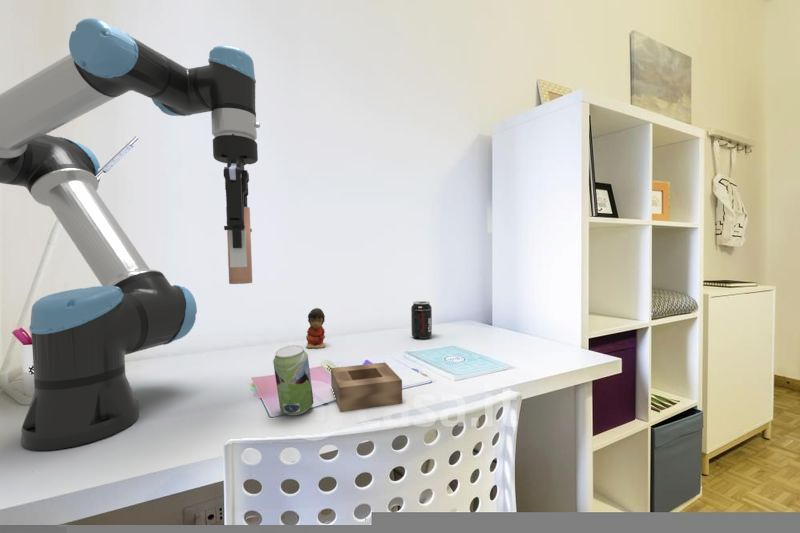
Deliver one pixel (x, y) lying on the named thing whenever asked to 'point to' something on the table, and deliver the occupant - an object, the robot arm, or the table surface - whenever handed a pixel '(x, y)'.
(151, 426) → the table surface
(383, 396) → the socket block
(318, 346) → the figurine
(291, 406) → the beverage can
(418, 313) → the beverage can
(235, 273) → the dowel
